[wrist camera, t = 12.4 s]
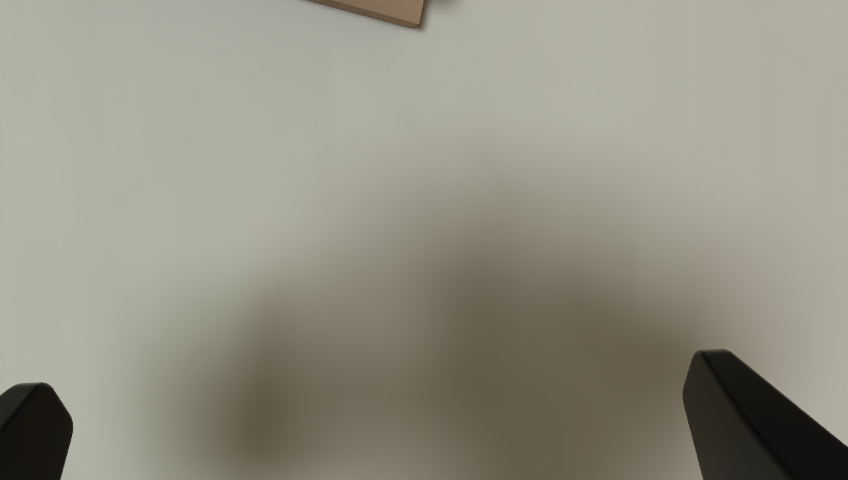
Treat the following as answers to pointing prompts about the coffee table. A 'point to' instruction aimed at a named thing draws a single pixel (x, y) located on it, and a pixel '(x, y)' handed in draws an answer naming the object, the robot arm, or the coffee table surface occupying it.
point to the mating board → (382, 9)
